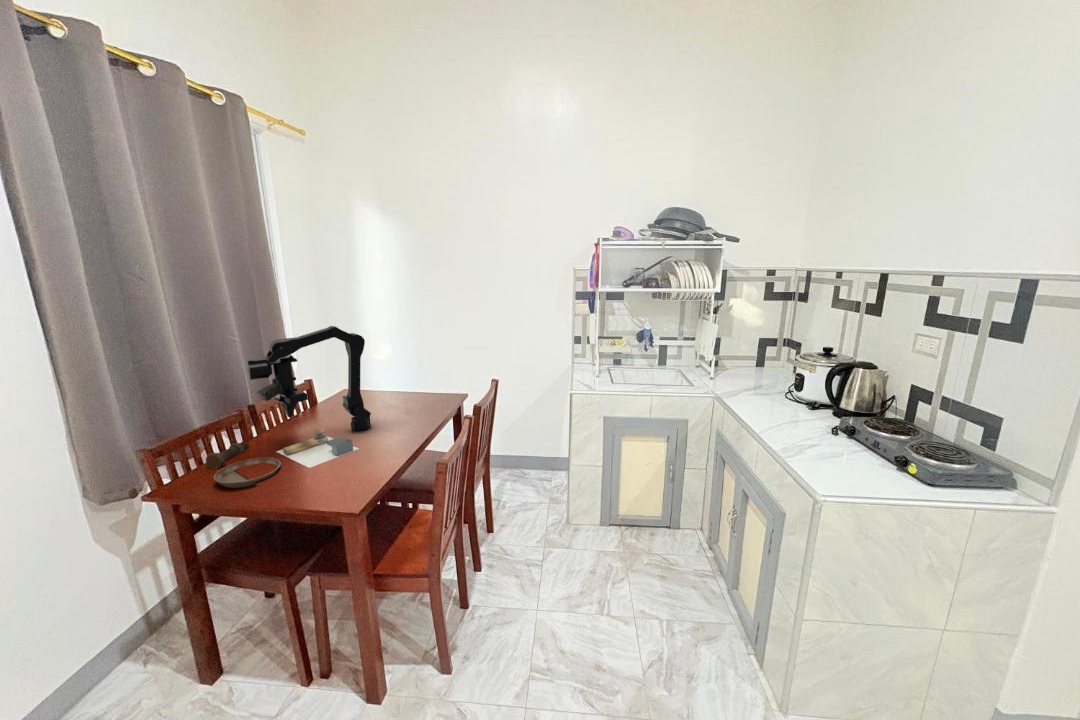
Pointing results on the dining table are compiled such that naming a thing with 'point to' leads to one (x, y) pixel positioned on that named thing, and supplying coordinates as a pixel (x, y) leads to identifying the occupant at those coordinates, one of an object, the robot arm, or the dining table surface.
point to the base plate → (314, 454)
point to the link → (307, 443)
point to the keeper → (340, 446)
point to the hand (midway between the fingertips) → (289, 416)
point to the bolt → (225, 454)
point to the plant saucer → (237, 480)
